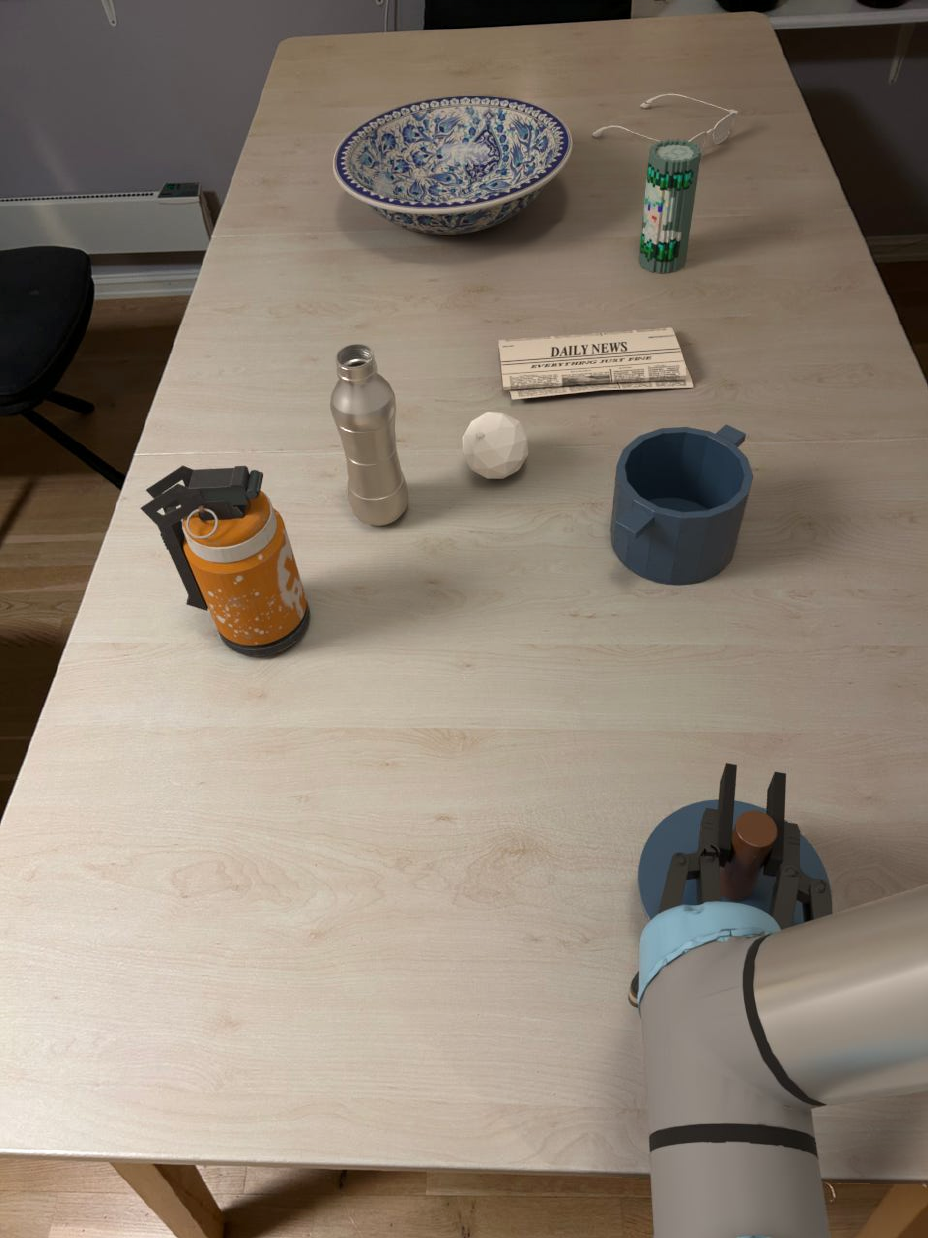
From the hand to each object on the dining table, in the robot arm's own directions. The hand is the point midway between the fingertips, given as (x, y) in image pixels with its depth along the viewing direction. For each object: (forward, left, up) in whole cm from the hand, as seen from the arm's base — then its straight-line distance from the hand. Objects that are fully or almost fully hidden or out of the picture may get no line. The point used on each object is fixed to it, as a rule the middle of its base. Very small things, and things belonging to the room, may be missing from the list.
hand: (752, 778), depth 66 cm
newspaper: (+47, -42, -12) cm, 65 cm away
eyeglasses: (+77, -97, -12) cm, 125 cm away
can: (+55, -67, -12) cm, 88 cm away
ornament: (+44, -21, -12) cm, 51 cm away
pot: (+23, -25, -12) cm, 36 cm away
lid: (-3, +5, -6) cm, 8 cm away
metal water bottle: (+49, -8, -12) cm, 51 cm away
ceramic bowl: (+87, -59, -12) cm, 106 cm away
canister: (+47, +11, -12) cm, 50 cm away
